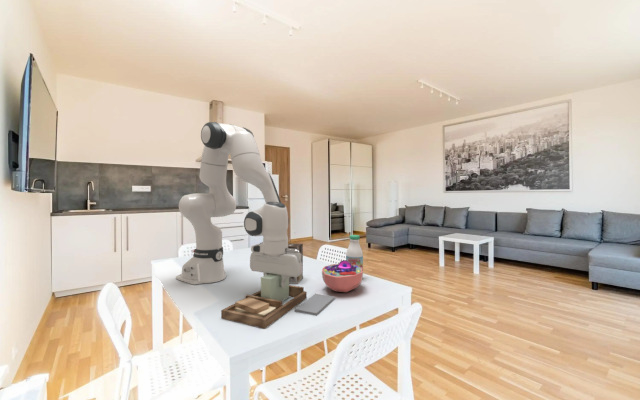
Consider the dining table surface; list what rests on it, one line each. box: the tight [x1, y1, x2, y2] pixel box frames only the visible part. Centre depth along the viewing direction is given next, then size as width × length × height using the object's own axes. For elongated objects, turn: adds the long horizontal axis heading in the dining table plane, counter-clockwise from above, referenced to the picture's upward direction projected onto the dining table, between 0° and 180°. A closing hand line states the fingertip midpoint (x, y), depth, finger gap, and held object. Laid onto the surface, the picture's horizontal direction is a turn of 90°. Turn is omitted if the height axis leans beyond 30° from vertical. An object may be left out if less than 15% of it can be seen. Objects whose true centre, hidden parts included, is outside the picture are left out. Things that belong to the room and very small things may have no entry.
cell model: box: [321, 259, 364, 293], centre depth 115 cm, size 17×20×11 cm
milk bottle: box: [345, 234, 364, 280], centre depth 130 cm, size 8×8×20 cm
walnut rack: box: [220, 284, 308, 329], centre depth 97 cm, size 16×26×4 cm, turn 156°
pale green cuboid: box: [260, 274, 290, 302], centre depth 102 cm, size 4×12×10 cm, turn 156°
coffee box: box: [288, 243, 304, 285], centre depth 127 cm, size 9×6×16 cm
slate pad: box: [294, 293, 336, 317], centre depth 99 cm, size 8×16×1 cm, turn 156°
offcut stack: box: [234, 297, 276, 318], centre depth 90 cm, size 13×7×4 cm, turn 60°
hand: (275, 285), depth 102 cm, fingers closed on pale green cuboid, 4 cm apart
